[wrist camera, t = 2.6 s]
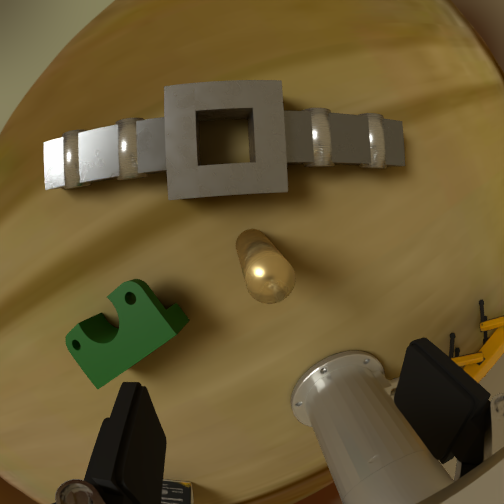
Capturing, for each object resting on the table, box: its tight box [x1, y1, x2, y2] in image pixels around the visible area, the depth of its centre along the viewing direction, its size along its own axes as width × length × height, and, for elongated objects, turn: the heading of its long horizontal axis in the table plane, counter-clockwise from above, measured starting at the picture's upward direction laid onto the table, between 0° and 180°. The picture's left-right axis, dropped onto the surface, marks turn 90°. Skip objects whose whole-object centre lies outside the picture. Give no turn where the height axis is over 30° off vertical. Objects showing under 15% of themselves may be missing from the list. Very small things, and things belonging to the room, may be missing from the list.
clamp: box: [66, 279, 190, 389], centre depth 25 cm, size 12×6×9 cm, turn 121°
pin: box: [236, 229, 296, 304], centre depth 22 cm, size 3×3×10 cm
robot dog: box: [449, 300, 504, 383], centre depth 27 cm, size 6×18×13 cm, turn 129°
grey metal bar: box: [44, 80, 405, 200], centre depth 22 cm, size 33×9×4 cm, turn 93°
